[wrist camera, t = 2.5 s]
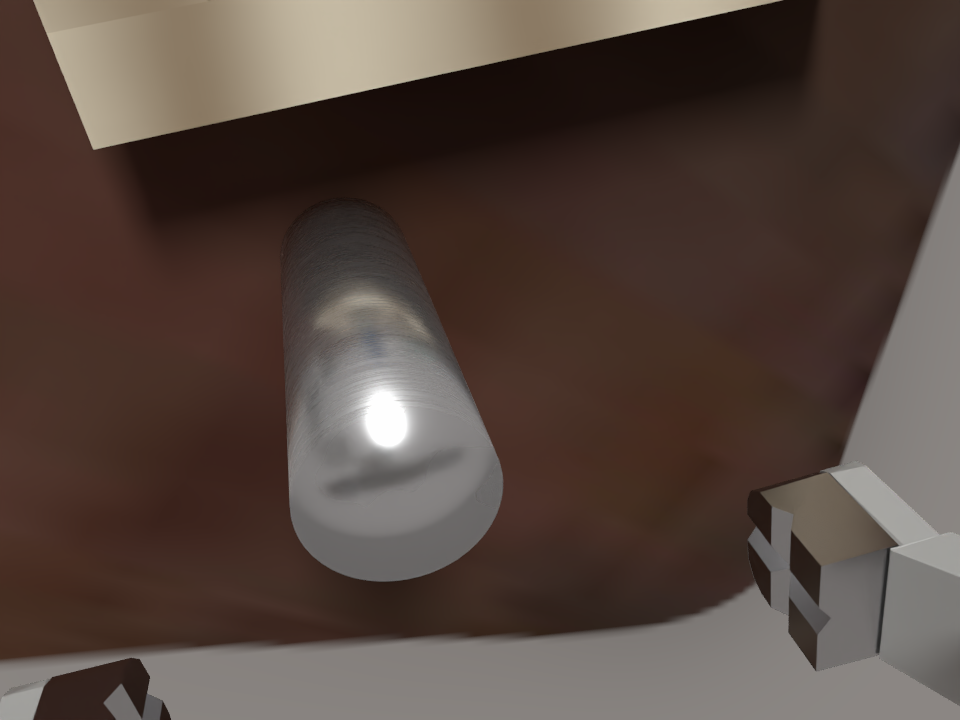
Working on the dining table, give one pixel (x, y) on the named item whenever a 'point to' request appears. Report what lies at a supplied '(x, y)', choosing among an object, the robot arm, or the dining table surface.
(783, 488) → the robot arm
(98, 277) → the dining table surface
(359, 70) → the socket block
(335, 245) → the plug
